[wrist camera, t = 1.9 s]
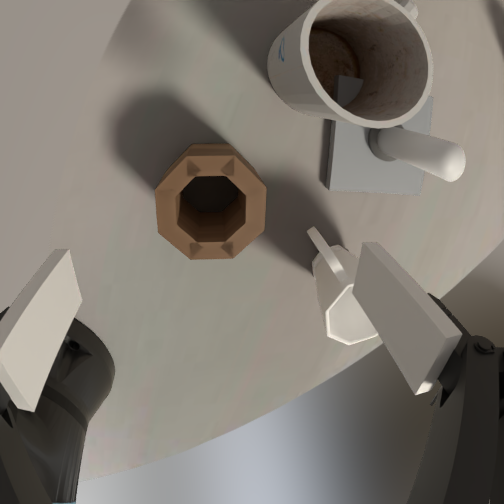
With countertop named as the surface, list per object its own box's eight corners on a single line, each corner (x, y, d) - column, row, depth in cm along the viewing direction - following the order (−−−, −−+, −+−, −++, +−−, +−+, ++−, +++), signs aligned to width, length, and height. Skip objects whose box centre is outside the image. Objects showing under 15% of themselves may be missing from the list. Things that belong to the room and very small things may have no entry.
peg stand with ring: (325, 187, 27) (379, 232, 18) (334, 75, 22) (399, 68, 13) (414, 192, 28) (480, 233, 19) (427, 96, 24) (503, 107, 15)
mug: (307, 136, 25) (359, 157, 16) (244, 56, 21) (266, 29, 12) (405, 67, 23) (480, 66, 14) (354, -8, 19) (416, -42, 10)
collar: (170, 227, 27) (161, 260, 21) (166, 145, 23) (153, 157, 18) (252, 225, 28) (262, 257, 22) (255, 143, 24) (268, 156, 19)
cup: (318, 304, 33) (343, 357, 26) (267, 236, 28) (287, 285, 21) (372, 268, 32) (409, 313, 24) (331, 193, 27) (372, 228, 20)
